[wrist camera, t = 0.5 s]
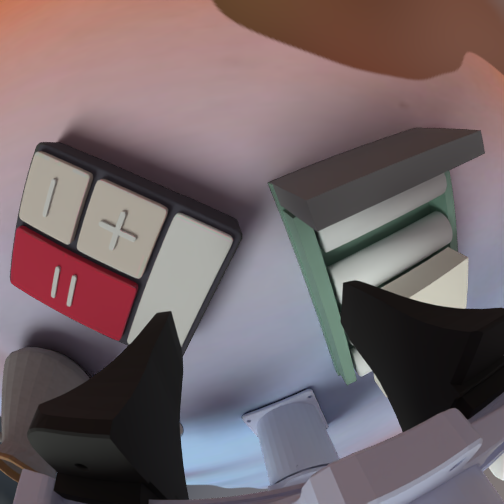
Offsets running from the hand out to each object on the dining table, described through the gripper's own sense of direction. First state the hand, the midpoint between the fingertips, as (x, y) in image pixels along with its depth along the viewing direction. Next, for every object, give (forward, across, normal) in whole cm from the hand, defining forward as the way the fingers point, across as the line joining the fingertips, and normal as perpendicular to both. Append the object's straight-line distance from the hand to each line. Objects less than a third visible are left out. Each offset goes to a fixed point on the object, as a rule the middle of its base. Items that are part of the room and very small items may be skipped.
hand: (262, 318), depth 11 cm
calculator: (+10, +9, -1) cm, 14 cm away
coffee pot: (+10, +24, +9) cm, 28 cm away
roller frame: (+10, -12, +4) cm, 16 cm away
